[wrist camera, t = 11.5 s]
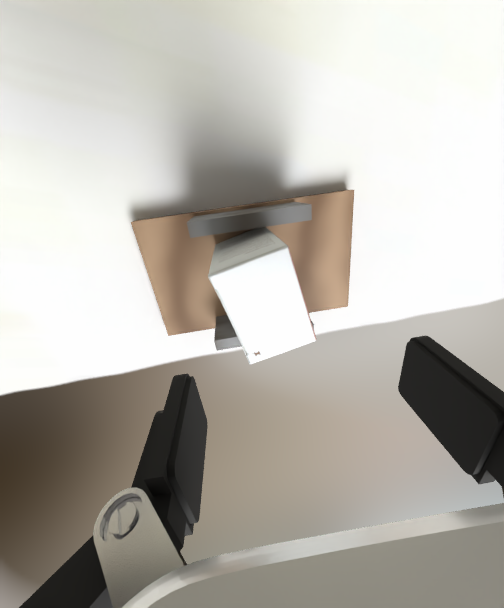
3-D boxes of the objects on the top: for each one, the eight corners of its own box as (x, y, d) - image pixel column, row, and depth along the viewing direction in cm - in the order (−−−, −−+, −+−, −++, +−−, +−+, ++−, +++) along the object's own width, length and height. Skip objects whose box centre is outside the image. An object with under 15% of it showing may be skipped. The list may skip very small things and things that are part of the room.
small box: (286, 291, 28) (319, 343, 18) (241, 308, 28) (250, 368, 19) (264, 223, 24) (290, 243, 15) (213, 243, 25) (206, 276, 15)
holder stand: (347, 189, 25) (384, 189, 19) (342, 301, 31) (370, 327, 25) (136, 220, 24) (107, 229, 18) (171, 329, 30) (158, 362, 24)
